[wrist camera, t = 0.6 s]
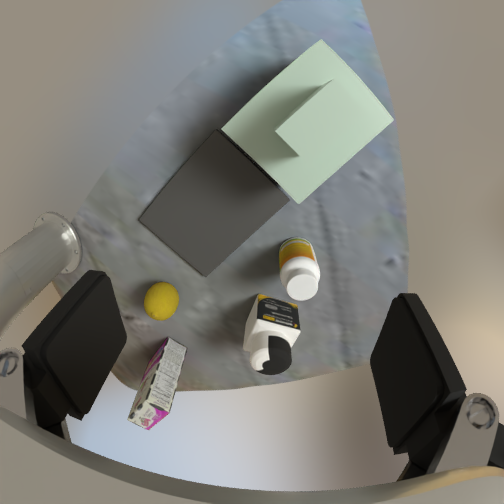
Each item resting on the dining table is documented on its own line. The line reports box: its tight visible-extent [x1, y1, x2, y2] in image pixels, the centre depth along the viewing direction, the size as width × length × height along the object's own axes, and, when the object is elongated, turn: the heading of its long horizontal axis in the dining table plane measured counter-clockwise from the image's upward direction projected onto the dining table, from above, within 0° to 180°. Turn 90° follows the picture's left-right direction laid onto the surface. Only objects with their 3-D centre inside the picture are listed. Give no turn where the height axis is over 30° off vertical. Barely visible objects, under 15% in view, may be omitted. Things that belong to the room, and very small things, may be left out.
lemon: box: [144, 282, 179, 320], centre depth 44 cm, size 6×6×8 cm
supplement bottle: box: [279, 237, 320, 300], centre depth 39 cm, size 5×5×10 cm
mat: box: [139, 130, 290, 277], centre depth 41 cm, size 18×14×1 cm
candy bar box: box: [128, 337, 187, 430], centre depth 49 cm, size 11×5×16 cm, turn 144°
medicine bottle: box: [243, 294, 300, 375], centre depth 44 cm, size 7×7×12 cm
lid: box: [221, 40, 394, 204], centre depth 25 cm, size 15×12×8 cm
